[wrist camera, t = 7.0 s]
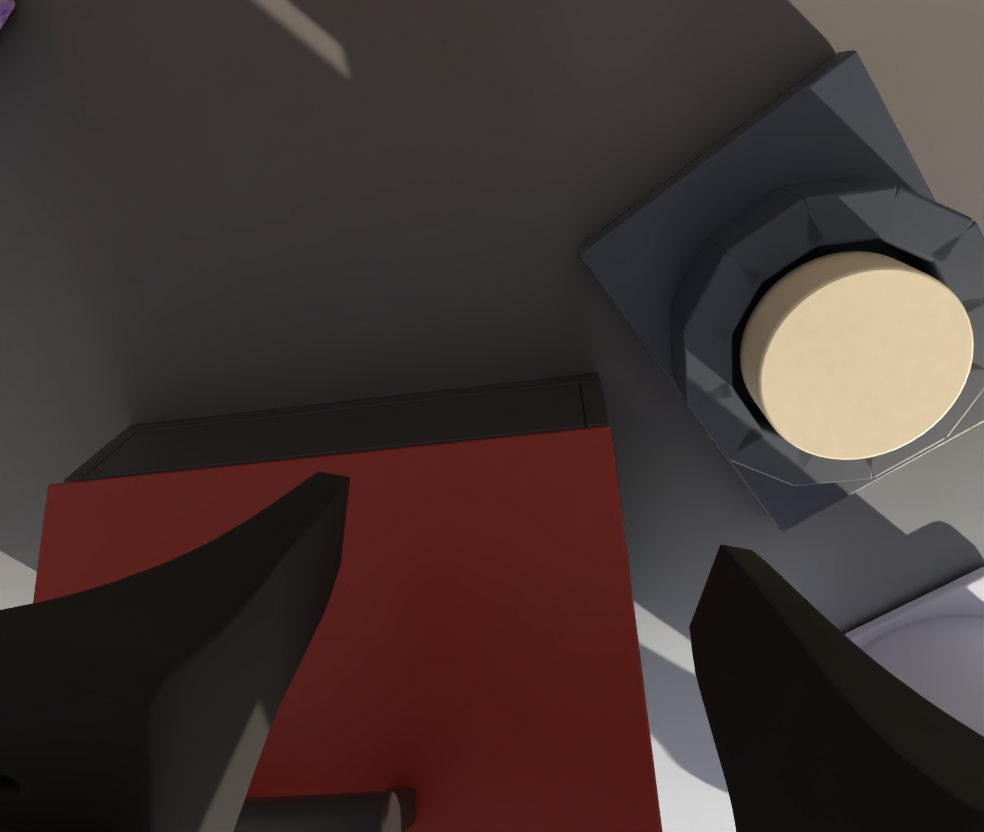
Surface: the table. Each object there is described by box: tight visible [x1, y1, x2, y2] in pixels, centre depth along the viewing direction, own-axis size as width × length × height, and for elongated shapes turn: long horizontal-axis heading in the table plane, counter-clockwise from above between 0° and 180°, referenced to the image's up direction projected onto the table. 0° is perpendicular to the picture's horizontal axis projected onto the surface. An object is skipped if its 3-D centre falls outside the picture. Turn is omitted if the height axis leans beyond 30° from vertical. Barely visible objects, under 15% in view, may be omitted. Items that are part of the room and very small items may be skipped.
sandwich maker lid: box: [33, 426, 662, 832], centre depth 15 cm, size 12×15×4 cm
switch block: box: [577, 50, 984, 532], centre depth 19 cm, size 11×8×3 cm
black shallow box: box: [64, 373, 610, 483], centre depth 23 cm, size 11×15×4 cm
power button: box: [740, 251, 974, 460], centre depth 17 cm, size 5×5×2 cm
